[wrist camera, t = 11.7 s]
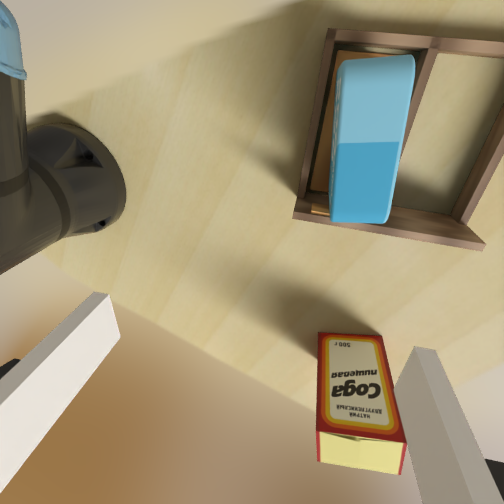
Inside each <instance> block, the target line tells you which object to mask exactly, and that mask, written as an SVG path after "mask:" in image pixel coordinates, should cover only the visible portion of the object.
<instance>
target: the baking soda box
mask: <svg viewBox="0 0 504 504" xmlns="http://www.w3.org/2000/svg"><path fill="white" fill-rule="evenodd" d="M393 389H394V385H393V381H392V376H391V372H390V368H389V363H388V359H387V355H386V351H385V346H384V342H383V338H382V336H375V335H357V334H339V333H321V332H318V364H317V405H316V443H317V461H319V462H325V463H330V464H336V465H342V466H348V467H353V468H361V469H367V470H374V471H380V472H385V473H392V474H398V475H401V470H402V466H403V461H404V456H405V451H406V447H407V441H406V437H405V433H404V429H403V425H402V421H401V417H400V413H399V410H398V406H397V402H396V398H395V394H394V390H393Z"/></svg>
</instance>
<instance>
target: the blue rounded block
mask: <svg viewBox="0 0 504 504" xmlns="http://www.w3.org/2000/svg"><path fill="white" fill-rule="evenodd" d="M414 77H415V60H414V57H413V56H412V55H398V56H387V57H375V58H364V59H352V60H345V61H343V63H342V64H341V65H340V67H339V68H338V70H337V74H336V85H335V99H334V113H333V128H332V142H331V156H330V170H329V210H330V221H331V222H343V223H377V224H383V223H385V222H386V221H387V219H388V217H389V214H390V209H391V204H392V198H393V193H394V187H395V182H396V177H397V171H398V166H399V160H400V155H401V149H402V144H403V138H404V133H405V127H406V122H407V116H408V111H409V106H410V100H411V95H412V89H413V84H414Z"/></svg>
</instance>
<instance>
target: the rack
mask: <svg viewBox="0 0 504 504" xmlns="http://www.w3.org/2000/svg"><path fill="white" fill-rule="evenodd" d="M334 44H344V45H355V46H367V47H378V48H389V49H401V50H412V51H421V52H420V55H419V58H418V61H417V64H416V67H415V77H414V84H413V89H412V95H411V100H410V106H409V111H408V116H407V122H406V127H405V133H404V138H403V144H402V149H401V155H400V159H401V156H402V153H403V150H404V147H405V144H406V142H407V139H408V136H409V133H410V130H411V127H412V124H413V122H414V119H415V116H416V113H417V110H418V107H419V104H420V102H421V99H422V96H423V93H424V90H425V87H426V84H427V82H428V79H429V76H430V73H431V70H432V67H433V64H434V61H435V59H436V56H437V53H446V54H458V55H469V56H481V57H492V58H504V42H495V41H482V40H470V39H457V38H445V37H433V36H420V35H408V34H395V33H383V32H370V31H358V30H346V29H333V28H328V30H327V36H326V41H325V47H324V52H323V58H322V63H321V69H320V74H319V80H318V85H317V91H316V96H315V102H314V107H313V113H312V118H311V124H310V129H309V135H308V140H307V146H306V151H305V157H304V162H303V167H302V173H301V178H300V184H299V189H298V195H297V200H296V204H295V208H294V212H293V217H292V219H298V220H303V221H309V222H315V223H321V224H326V225H332V226H338V227H344V228H349V229H355V230H361V231H367V232H372V233H378V234H384V235H390V236H395V237H401V238H407V239H413V240H419V241H424V242H430V243H436V244H442V245H447V246H453V247H459V248H465V249H470V250H476V251H483V249H484V247H485V246H486V244H485V243H484V242H483V241H482V240H481V239H480V238H479V237H478V236H477V235H476V234H475V233H474V232H473V231H472V230H471V229H470V228H469V227H468V226H467V223H468V221H469V219H470V217H471V215H472V213H473V212H474V210H475V208H476V206H477V204H478V202H479V200H480V198H481V196H482V194H483V192H484V191H485V189H486V187H487V185H488V183H489V181H490V179H491V177H492V175H493V173H494V172H495V170H496V168H497V166H498V164H499V162H500V160H501V158H502V156H503V154H504V104H503V106H502V108H501V110H500V112H499V115H498V117H497V119H496V121H495V123H494V125H493V127H492V129H491V131H490V133H489V135H488V137H487V139H486V141H485V144H484V146H483V148H482V150H481V152H480V154H479V156H478V158H477V160H476V162H475V164H474V166H473V168H472V170H471V172H470V175H469V177H468V179H467V181H466V183H465V185H464V187H463V189H462V191H461V193H460V195H459V197H458V199H457V201H456V204H455V206H454V208H453V210H452V212H451V214H450V215H445V214H439V213H433V212H427V211H420V210H414V209H408V208H402V207H395V206H391V209H390V214H389V217H388V219H387V221H386V222H385V223H383V224H377V223H343V222H331V221H330V210H329V196H327V195H320V194H314V193H308V192H305V190H306V185H307V180H308V175H309V170H310V165H311V160H312V154H313V149H314V144H315V139H316V134H317V129H318V124H319V119H320V113H321V108H322V103H323V98H324V93H325V88H326V83H327V78H328V72H329V67H330V62H331V57H332V52H333V47H334ZM387 56H397V55H386V54H375V53H364V52H353V51H342V50H338V53H337V58H336V63H335V68H334V73H333V77H332V82H331V87H330V92H329V97H328V102H327V107H326V112H325V117H324V122H323V127H322V132H321V137H320V142H319V146H318V151H317V156H316V161H315V166H314V171H313V176H312V181H311V186H310V189H311V190H318V191H324V192H329V170H330V156H331V142H332V128H333V113H334V99H335V85H336V74H337V70H338V68H339V67H340V65H341V64H342V63H343V61H345V60H352V59H364V58H375V57H387ZM399 162H400V160H399Z"/></svg>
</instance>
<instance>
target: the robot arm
mask: <svg viewBox="0 0 504 504" xmlns="http://www.w3.org/2000/svg"><path fill="white" fill-rule="evenodd" d="M26 75H27V74H26V72H25V70H24V69H23V62H22V52H21V43H20V35H19V29H18V25H17V23H16V20H15V18H14V17H13V15H12V13H11V12H10V11H9V9H8V8H7V7H6V6H5V5H4V4H3V3H2V2H1V1H0V275H1V274H2V273H4V272H6V271H7V270H9V269H11V268H12V267H14V266H16V265H18V264H19V263H21V262H23V261H24V260H26V259H28V258H29V257H31V256H33V255H34V254H36V253H38V252H39V251H41V250H43V249H45V248H46V247H48V246H50V245H51V244H53V243H55V242H56V241H58V240H60V239H62V238H66V237H71V236H77V235H83V234H89V233H94V232H98V231H100V230H103V229H105V228H106V227H108V226H109V225H111V224H112V223H114V222H115V221H116V220H117V219H118V218H119V217H120V216H121V214H122V212H123V210H124V207H125V203H126V188H125V183H124V179H123V176H122V173H121V171H120V168H119V166H118V164H117V163H116V161H115V159H114V158H113V156H112V155H111V153H110V152H109V151H108V150H107V148H106V147H105V146H104V145H103V144H102V143H101V142H100V141H99V140H98V139H96V138H95V137H94V136H93V135H91V134H90V133H88V132H87V131H85V130H83V129H81V128H79V127H76V126H73V125H70V124H64V123H56V124H48V125H42V126H38V127H35V128H33V129H31V130H29V131H28V132H27V128H26V111H25V90H24V89H25V88H24V80H26V77H27V76H26ZM119 338H120V333H119V329H118V326H117V322H116V318H115V314H114V311H113V307H112V303H111V299H110V295H109V294H104V293H98V292H93V293H92V294H91V295H90V296H89V297H88V298H87V299H86V300H85V301H84V302H82V304H81V305H79V306H78V307H77V308H76V309H75V310H74V311H73V312H72V313H71V314H70V315H69V316H68V317H67V318H65V319H64V320H63V321H62V322H61V323H60V324H59V325H58V326H57V327H56V328H55V329H54V330H53V331H52V332H50V333H49V334H48V335H47V336H46V337H45V338H44V339H43V340H42V341H41V342H40V343H39V344H38V345H37V346H36V347H35V348H34V349H33V350H31V351H30V352H29V353H28V354H27V355H26V356H25V357H24V358H23V359H22V360H19V359H13V360H11V361H9V362H8V363H6V364H4V365H3V366H1V367H0V493H1V492H2V490H3V489H4V487H5V486H6V485H7V484H8V483H9V481H10V480H11V479H12V477H13V476H14V475H15V473H16V472H17V471H18V470H19V468H20V467H21V466H22V464H23V463H24V462H25V460H26V459H27V457H29V455H30V454H31V453H32V451H33V450H34V449H35V447H36V446H37V445H38V444H39V442H40V441H41V440H42V438H43V437H44V436H45V434H46V433H47V432H48V431H49V429H50V428H51V427H52V425H53V424H54V423H55V422H56V420H57V419H58V417H59V416H60V415H61V414H62V412H63V411H64V410H65V409H66V407H67V406H68V405H69V403H70V402H71V401H72V399H73V398H74V397H75V396H76V394H77V393H78V392H79V390H80V389H81V388H82V386H83V385H84V384H85V383H86V381H87V380H88V379H89V377H90V376H91V375H92V373H93V372H94V371H95V370H96V368H97V367H98V366H99V364H100V363H101V362H102V360H103V359H104V358H105V357H106V355H107V354H108V353H109V351H110V350H111V349H112V347H113V346H114V345H115V344H116V342H117V341H118V339H119ZM393 390H394V394H395V398H396V402H397V406H398V410H399V413H400V417H401V421H402V425H403V429H404V433H405V437H406V441H407V445H408V449H409V453H410V456H411V460H412V464H413V468H414V472H415V475H416V480H417V484H418V487H419V491H420V495H421V499H422V503H423V504H504V463H503V462H498V461H493V460H488V459H484V457H483V455H482V453H481V450H480V448H479V446H478V444H477V442H476V439H475V437H474V435H473V433H472V430H471V429H470V426H469V424H468V422H467V420H466V417H465V415H464V413H463V411H462V408H461V406H460V404H459V402H458V399H457V397H456V395H455V393H454V391H453V388H452V386H451V384H450V382H449V380H448V377H447V375H446V373H445V371H444V368H443V366H442V364H441V362H440V360H439V357H438V355H437V353H436V351H435V350H433V349H427V348H421V347H415V346H414V348H413V350H412V352H411V354H410V356H409V358H408V360H407V362H406V364H405V367H404V369H403V371H402V373H401V375H400V377H399V379H398V381H397V383H396V385H395V387H394V389H393Z"/></svg>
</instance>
